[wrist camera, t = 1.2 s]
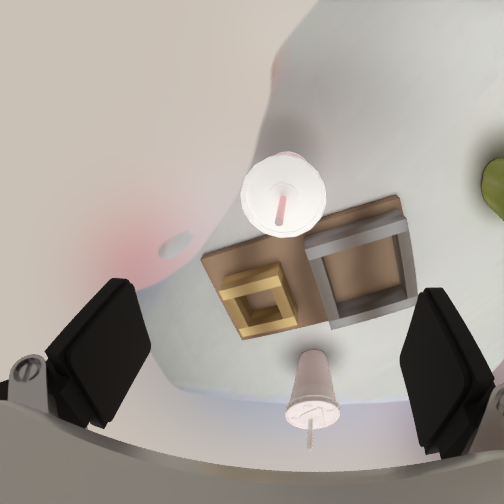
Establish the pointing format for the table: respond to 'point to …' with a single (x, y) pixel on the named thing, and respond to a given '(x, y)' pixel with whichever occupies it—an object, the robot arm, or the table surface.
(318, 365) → the smoothie
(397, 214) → the fitting board
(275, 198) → the beverage cup
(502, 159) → the plant pot
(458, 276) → the table surface
